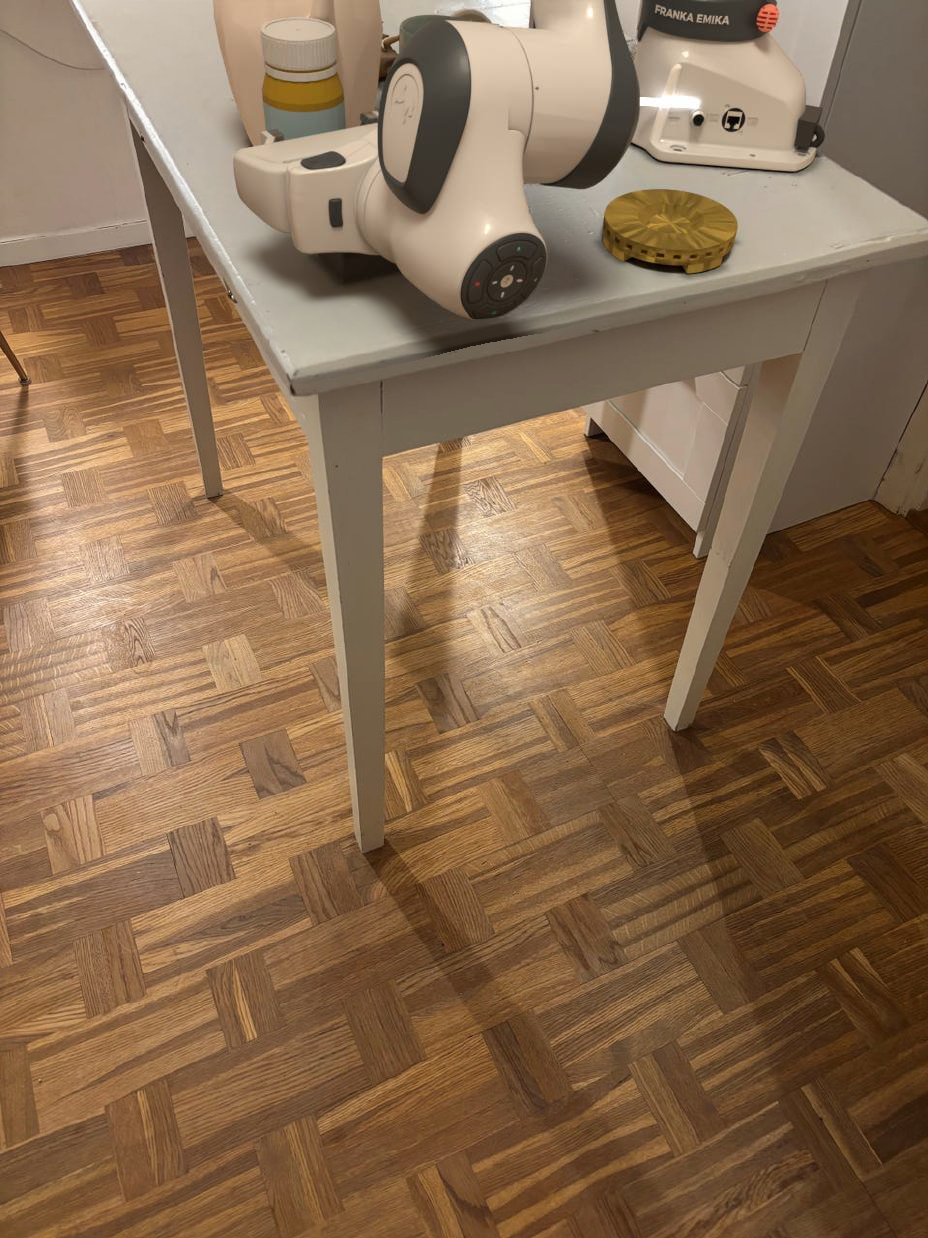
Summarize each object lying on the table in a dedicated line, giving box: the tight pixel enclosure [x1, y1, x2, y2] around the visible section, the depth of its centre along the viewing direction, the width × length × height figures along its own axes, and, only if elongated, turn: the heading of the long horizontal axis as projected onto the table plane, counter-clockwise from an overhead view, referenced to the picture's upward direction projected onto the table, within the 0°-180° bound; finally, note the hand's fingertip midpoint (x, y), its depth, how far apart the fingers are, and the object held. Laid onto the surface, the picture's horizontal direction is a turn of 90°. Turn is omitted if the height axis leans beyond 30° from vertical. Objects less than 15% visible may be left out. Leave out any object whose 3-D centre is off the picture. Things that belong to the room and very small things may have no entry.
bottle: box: [261, 17, 346, 140], centre depth 84 cm, size 7×7×15 cm
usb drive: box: [316, 252, 400, 284], centre depth 83 cm, size 5×12×3 cm, turn 120°
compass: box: [602, 188, 739, 274], centre depth 87 cm, size 12×12×2 cm
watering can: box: [212, 0, 384, 147], centre depth 91 cm, size 16×27×19 cm, turn 19°
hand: (318, 129), depth 82 cm, fingers open, 8 cm apart
